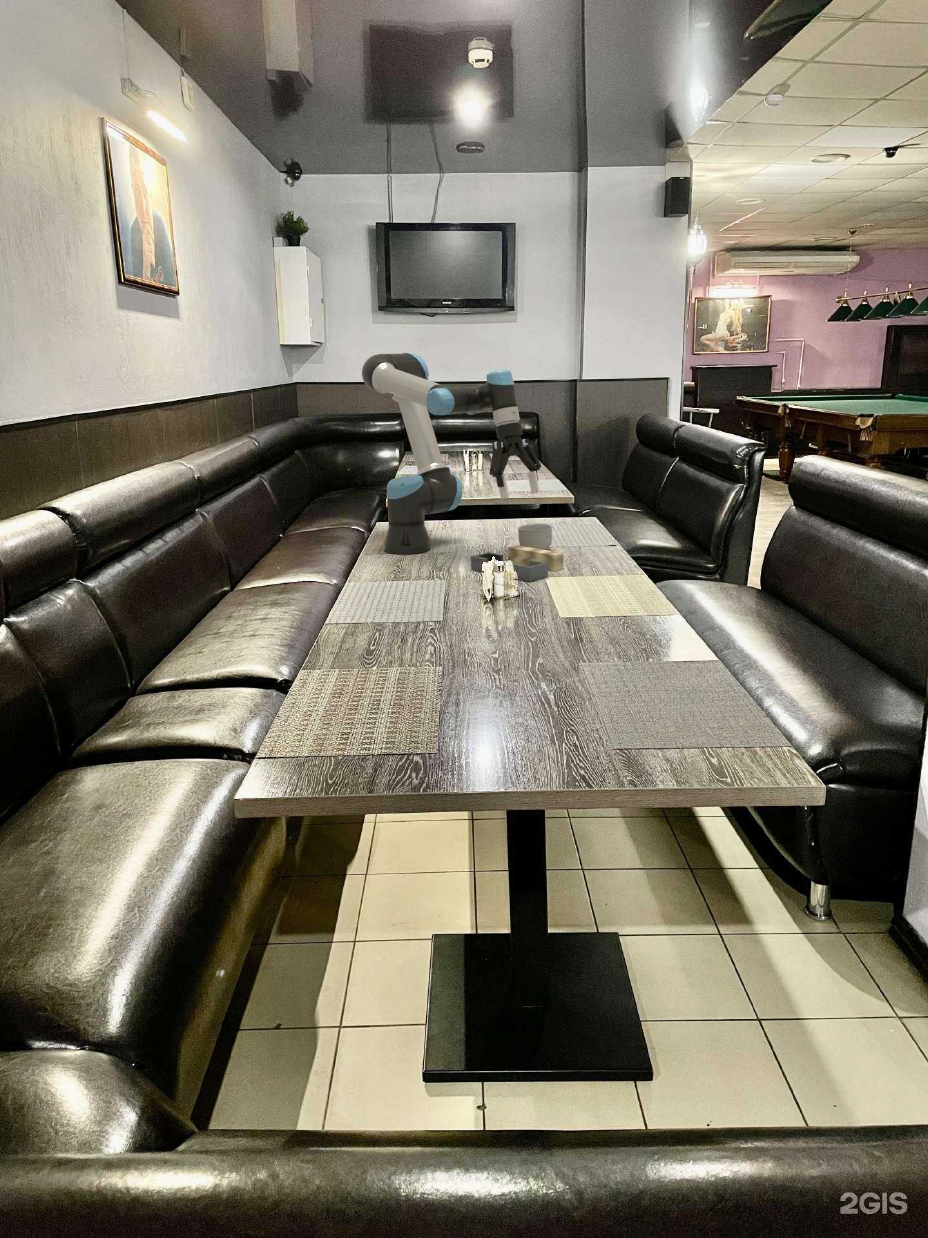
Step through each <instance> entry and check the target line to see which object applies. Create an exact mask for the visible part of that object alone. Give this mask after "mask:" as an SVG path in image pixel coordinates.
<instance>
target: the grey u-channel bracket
mask: <svg viewBox="0 0 928 1238" xmlns="http://www.w3.org/2000/svg"><path fill="white" fill-rule="evenodd" d="M493 556H494V557H495V559H496V560H498V561H503V562H504V554H502V553H495V552H490V551H487V552H483V553H480V554H475V555H471V556H470V571H476V572H481V573H483V572H482V564H483V562H488V561H491V560H492V557H493Z"/></svg>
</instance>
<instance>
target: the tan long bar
mask: <svg viewBox="0 0 928 1238" xmlns="http://www.w3.org/2000/svg"><path fill="white" fill-rule="evenodd" d="M508 560H511V561H513V562H514V563H515V564H518V565H523V566H529V561H530V560H534V561H539V562H545V563H548V572H549V571H551V572H557V571H561V570H564V552H559V551H555V550H554V551H553V550H548V549H547V550H543V549H536V548H530V547H524V546H520V545H517V544H516V545H512V546H508V547H507V561H508ZM515 564H514V565H515Z"/></svg>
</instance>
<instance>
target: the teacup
mask: <svg viewBox="0 0 928 1238" xmlns="http://www.w3.org/2000/svg"><path fill="white" fill-rule="evenodd" d="M552 529H553V525H552V524H550V523H544V522H543V523H542V522H541V523H540V522H537V523H530V522H528V523H526V524H522V525H519V526H518V527H517V533H518V543H519V546H524V547H530V548H536V549H543V550H548V549H549V547H551V545H552V543H553V542H552V541H553V531H552Z"/></svg>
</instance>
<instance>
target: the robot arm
mask: <svg viewBox="0 0 928 1238" xmlns="http://www.w3.org/2000/svg"><path fill="white" fill-rule="evenodd" d="M361 369H362V370H361V376H362V377H361V378H362V381H363V382H364V384H365V386H366V387H367V388H369V389H370V390H372V391H374V392H377V393H378V394H388V393H389V394H390V395H391V398H392V400H393V401H395V402H397V404H398V405H399V409H400V413H401V415H402V421H403V423H404V427H405V430H406V433H407V438H408V441H409V443H410V447H411V450H412V454H413V457H414V461H415V464H416V468H417V473H416V474H410V475H403V476H398V477H395V478H393V479H392V478H391V480H389V481H388V483H387V485H386V498H387V500H386V501H387V518H388V519H387V520H388V522H387V523H388V529H387V533H386V537H385V540H384V543H383V544H384V545H383V547H384V549H383V550H384V551H385V552H386V553H389V554H393V555H415V554H421V553H425V552H428V551H430V550H431V549H432V542H431V539H430V537H429V534H428V531H427V529H426V526H425V524H426V522H425V515H426V516H427V515H431V514H432V515H433V514H437V513H446V512H448V511H453V510H455V509H456V508H458V506H459V505H460V503H461V500H462V499H463V493H464V492H463V484H462V481H461V479H460V478H459V477H458V475H455V474H452V473H451V470H450V466H448V465H446V464H444V462H443V458H442V455H441V452H440V449H439V445H438V441H437V437H436V434H435V430H434V427H433V424H432V421H431V420H432V419H431V418H430V414H432V415H435V416H446V415H455V414H456V415H458V414H467V415H470V416H473V415H477V414H481V413H483V412H487V410H490V409H492V415H493V421H494V422H493V423H494V425H495V426H496V427H495V433H496V437H497V440H498V441H494V442H493V443H492V445H491V446H492V455H491V462H490V468H489V475H490V476H492V477H493V478H495V480H496V485H497V486H496V487H498V489H499V495H500V500H503V499H508V498H510V493H509V487H508V483H507V477H506V474H504V472H505V469H506V467H507V464H508V462H509V459H510V457H511V456H513V457H514V456H515V457H517V458H519V460H520V461H521V462H522V464H523V465H524V466H525V468H526V469H527V470H528V473H527V477H528V480H529V481H528V482H529V487H530V493H531V495H534V494H538V493H541V492H540V485H539V476H538V474H539V473H538V471H540V469H541V468H542V464H541V463H540V461H539V458H538V457H537V455H536V453H535V451H534V449H533V447H532V445H531V441H530V439H529V438H523V439H522V435H523V429H522V428H523V427H522V424H521V422H520V412H519V407H518V401H517V395H516V390H515V389H516V388H515V381H514V379H513V374H512V371H511V370H509V369H498V370H493V371H490V372H488V373H487V374H486V383H483V384H480V385H477V386H462V387H461V386H460V387H448V386H445V385H442V384H440V383H437V382H433V381H431V380H430V379H429V375H430V374H429V368H428V365H427V363H426V361H425V359H423V357H422V356H420V355H419V354H416V353H410V352H402V353H378V354H374V355H372V356H370V357H369V358H368V359H366V361H365V362H364V363H363V366H362V368H361ZM429 412H430V414H429Z"/></svg>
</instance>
